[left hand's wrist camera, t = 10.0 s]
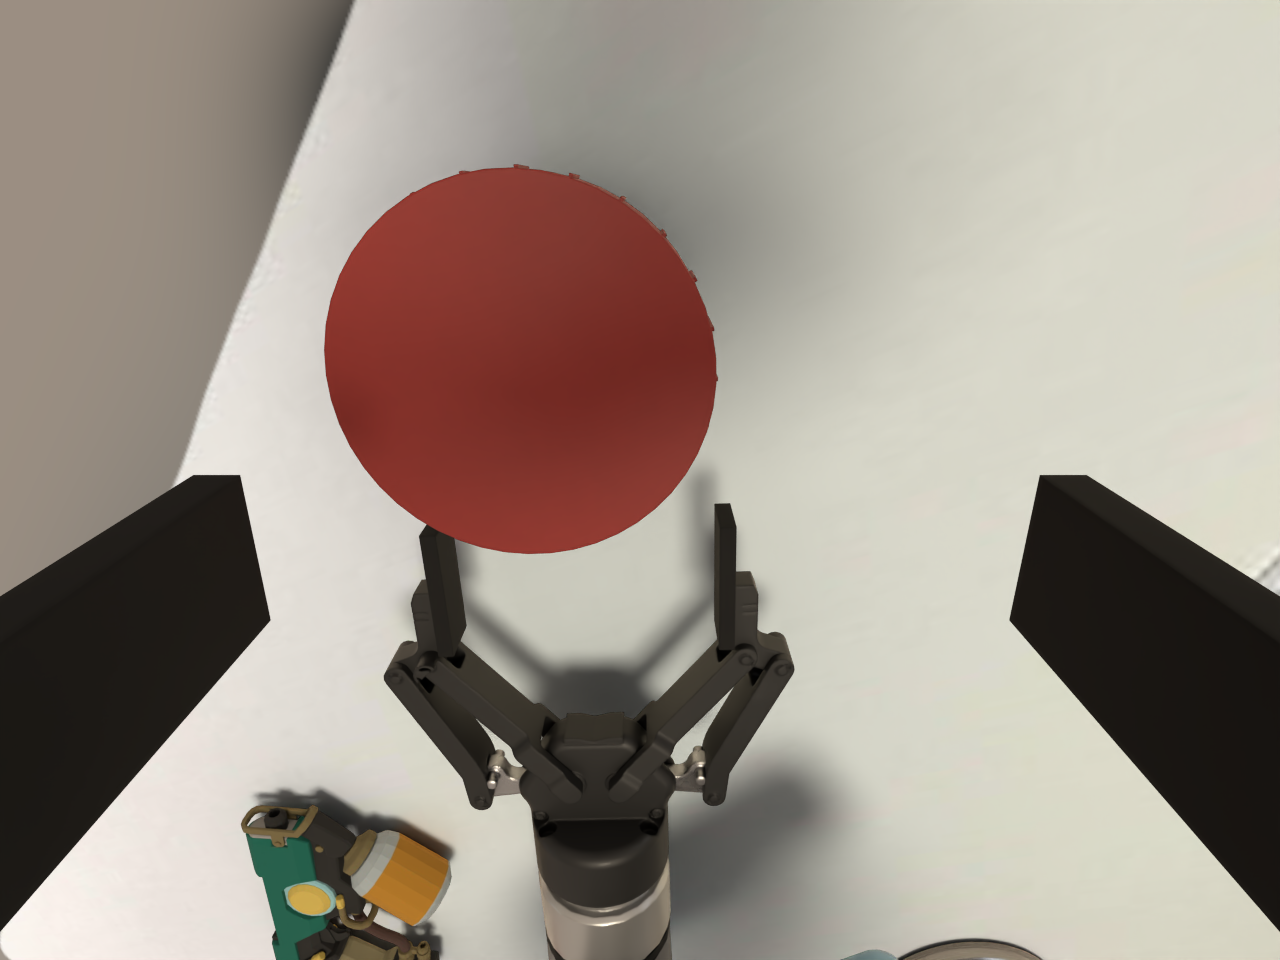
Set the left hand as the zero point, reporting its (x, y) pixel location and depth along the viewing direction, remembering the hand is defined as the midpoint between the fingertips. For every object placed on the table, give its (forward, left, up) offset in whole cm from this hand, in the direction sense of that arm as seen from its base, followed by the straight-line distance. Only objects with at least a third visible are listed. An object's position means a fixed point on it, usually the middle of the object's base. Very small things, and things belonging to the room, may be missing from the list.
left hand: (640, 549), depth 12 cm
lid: (+1, -3, -8) cm, 8 cm away
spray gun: (+45, +2, -26) cm, 52 cm away
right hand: (+9, +2, -20) cm, 22 cm away
